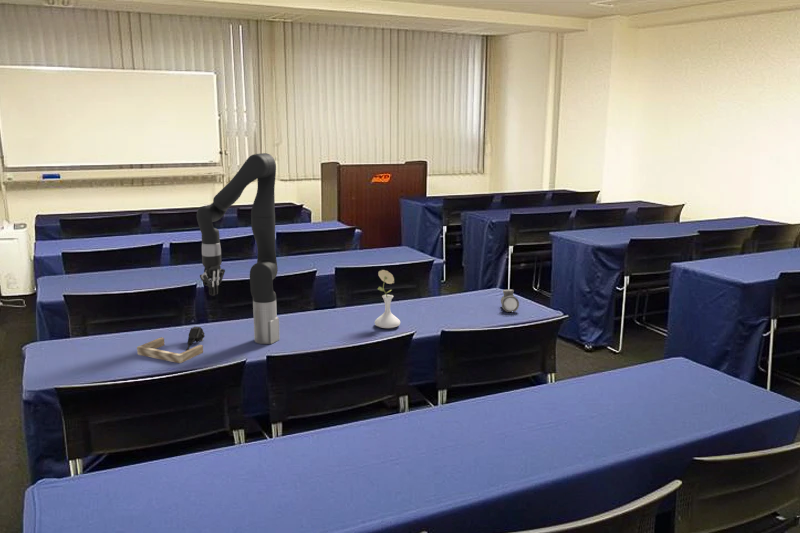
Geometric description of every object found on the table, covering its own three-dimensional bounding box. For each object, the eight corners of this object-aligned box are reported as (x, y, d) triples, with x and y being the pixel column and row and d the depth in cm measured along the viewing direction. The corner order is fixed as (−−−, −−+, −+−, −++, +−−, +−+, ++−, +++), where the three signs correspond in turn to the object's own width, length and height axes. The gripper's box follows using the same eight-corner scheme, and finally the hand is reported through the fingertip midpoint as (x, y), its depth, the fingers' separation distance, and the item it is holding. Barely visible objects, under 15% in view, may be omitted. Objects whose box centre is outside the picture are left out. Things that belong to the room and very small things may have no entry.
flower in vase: (405, 327, 281) (406, 272, 275) (383, 332, 274) (383, 275, 269) (389, 319, 291) (389, 266, 286) (367, 324, 285) (367, 269, 279)
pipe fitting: (519, 312, 303) (518, 291, 302) (502, 313, 304) (501, 292, 302) (515, 308, 315) (514, 287, 314) (499, 309, 316) (498, 288, 314)
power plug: (179, 348, 250) (189, 323, 258) (185, 359, 256) (194, 334, 264) (193, 349, 249) (203, 323, 258) (199, 360, 255) (208, 334, 263)
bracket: (203, 352, 248) (202, 345, 247) (180, 363, 237) (179, 355, 236) (161, 344, 256) (161, 337, 256) (137, 354, 245) (136, 347, 244)
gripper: (207, 257, 255) (209, 299, 259) (229, 251, 267) (231, 291, 271) (192, 255, 258) (195, 297, 262) (215, 249, 270) (217, 289, 274)
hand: (213, 294), depth 266 cm, fingers closed
